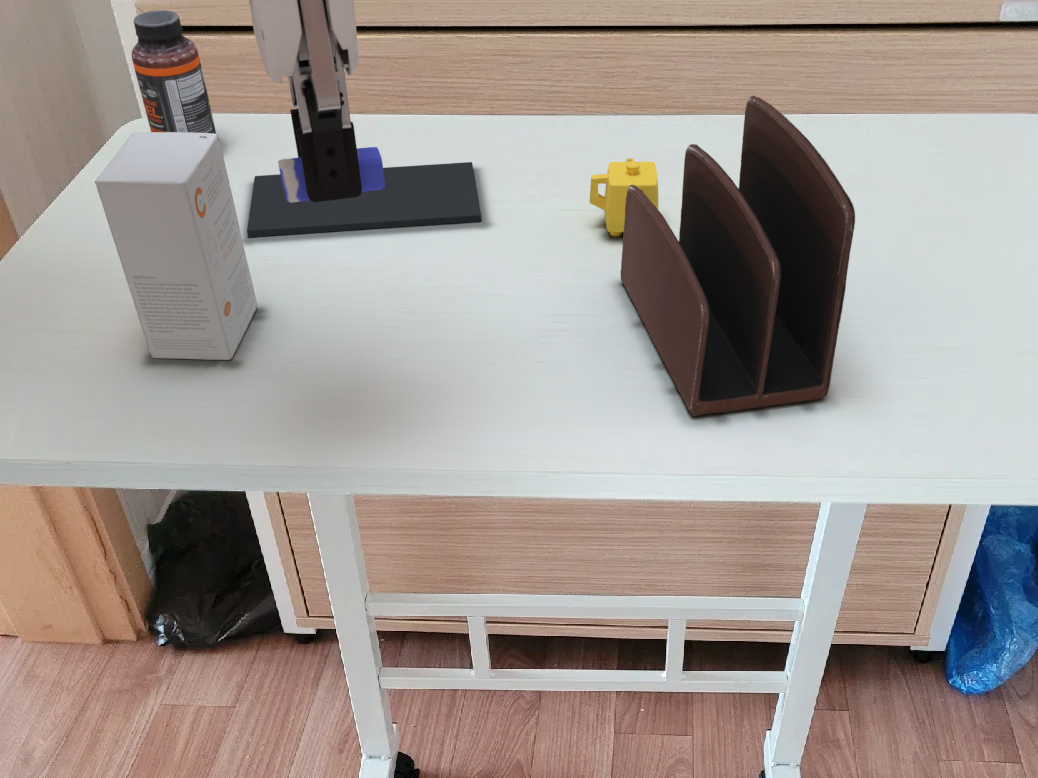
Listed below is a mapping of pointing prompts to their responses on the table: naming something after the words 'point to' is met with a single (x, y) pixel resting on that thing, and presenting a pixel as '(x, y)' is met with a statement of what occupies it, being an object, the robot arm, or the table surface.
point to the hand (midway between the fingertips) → (331, 185)
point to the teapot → (623, 190)
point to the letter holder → (745, 271)
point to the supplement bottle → (170, 75)
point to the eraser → (296, 181)
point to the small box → (179, 243)
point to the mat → (371, 203)
